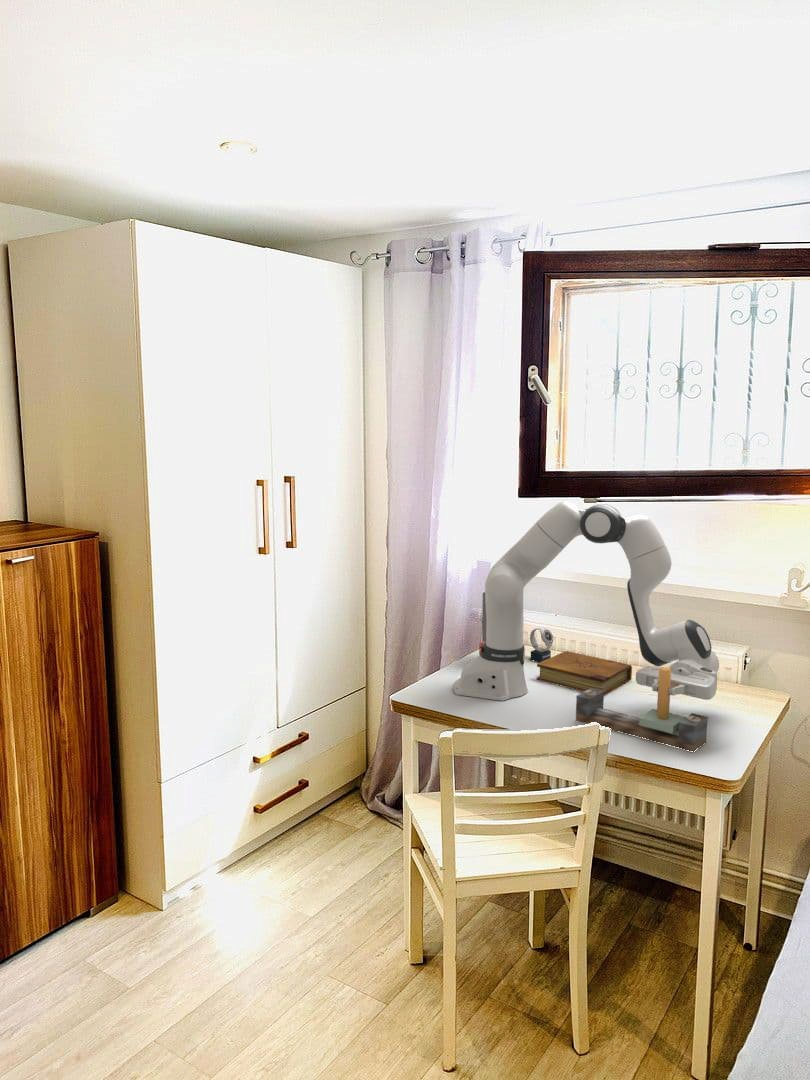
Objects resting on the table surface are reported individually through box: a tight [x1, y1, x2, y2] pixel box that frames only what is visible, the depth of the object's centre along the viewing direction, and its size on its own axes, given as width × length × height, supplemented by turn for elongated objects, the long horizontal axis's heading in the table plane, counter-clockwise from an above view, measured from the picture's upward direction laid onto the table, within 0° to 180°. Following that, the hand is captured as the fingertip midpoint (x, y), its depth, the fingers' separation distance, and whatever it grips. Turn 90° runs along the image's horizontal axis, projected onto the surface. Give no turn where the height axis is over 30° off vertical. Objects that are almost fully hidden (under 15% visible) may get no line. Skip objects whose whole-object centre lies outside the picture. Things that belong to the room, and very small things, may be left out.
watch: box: [529, 626, 554, 663], centre depth 278 cm, size 6×8×11 cm
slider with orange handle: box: [639, 666, 687, 734], centre depth 213 cm, size 9×8×15 cm
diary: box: [536, 650, 633, 696], centre depth 259 cm, size 23×19×6 cm
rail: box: [575, 688, 709, 753], centre depth 218 cm, size 33×8×8 cm, turn 49°
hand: (662, 690), depth 212 cm, fingers closed on slider with orange handle, 3 cm apart
